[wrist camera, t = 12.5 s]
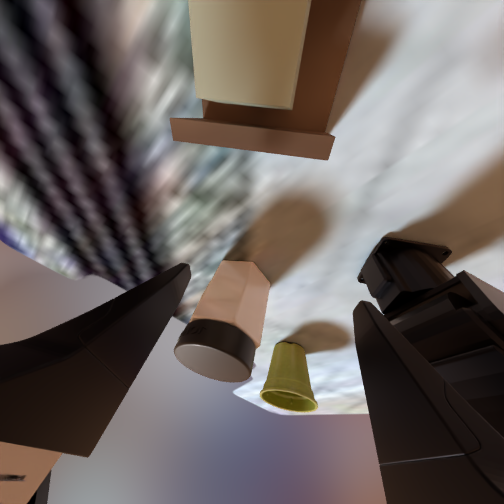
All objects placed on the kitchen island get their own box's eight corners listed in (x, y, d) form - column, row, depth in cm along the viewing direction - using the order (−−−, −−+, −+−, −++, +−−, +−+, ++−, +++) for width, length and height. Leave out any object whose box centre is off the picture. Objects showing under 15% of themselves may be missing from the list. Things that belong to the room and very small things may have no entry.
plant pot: (289, 330, 32) (286, 386, 26) (324, 354, 35) (330, 411, 28) (257, 344, 38) (248, 393, 31) (289, 363, 40) (288, 413, 33)
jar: (226, 247, 24) (179, 330, 15) (279, 273, 25) (267, 368, 15) (209, 285, 29) (167, 363, 20) (252, 305, 30) (232, 389, 21)
